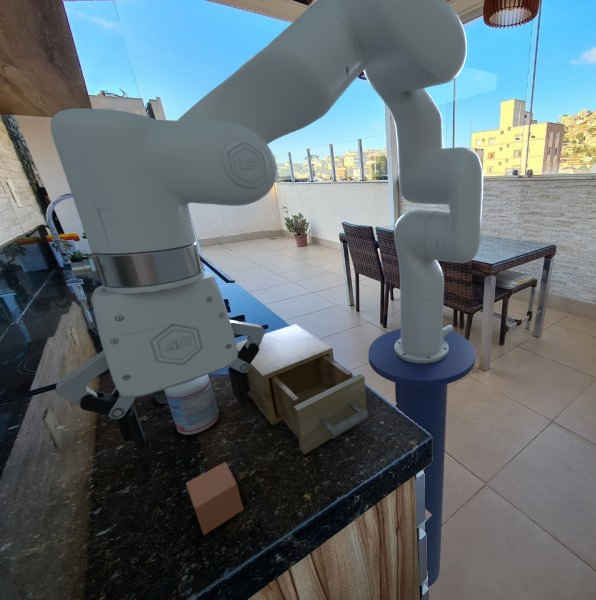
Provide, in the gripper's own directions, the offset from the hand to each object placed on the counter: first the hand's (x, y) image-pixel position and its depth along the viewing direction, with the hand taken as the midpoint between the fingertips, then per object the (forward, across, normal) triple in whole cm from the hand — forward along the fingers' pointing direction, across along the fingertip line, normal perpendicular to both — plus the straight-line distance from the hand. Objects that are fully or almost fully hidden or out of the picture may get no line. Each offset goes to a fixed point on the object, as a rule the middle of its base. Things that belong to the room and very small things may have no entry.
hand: (195, 417), depth 35 cm
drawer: (+12, +17, +4) cm, 21 cm away
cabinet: (+13, +17, +17) cm, 27 cm away
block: (+14, 0, 0) cm, 14 cm away
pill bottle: (+14, +2, +19) cm, 23 cm away
